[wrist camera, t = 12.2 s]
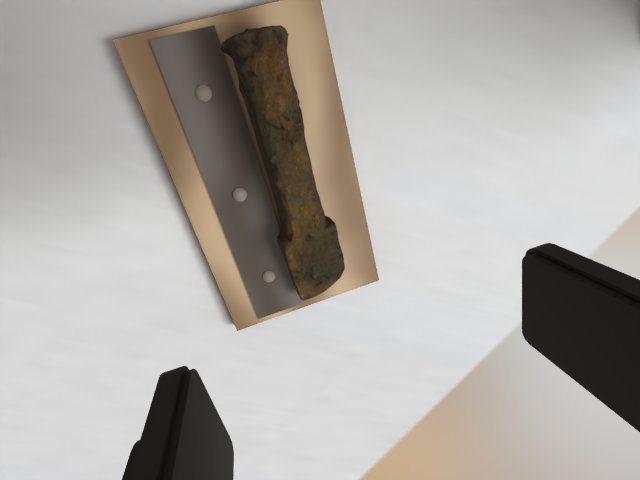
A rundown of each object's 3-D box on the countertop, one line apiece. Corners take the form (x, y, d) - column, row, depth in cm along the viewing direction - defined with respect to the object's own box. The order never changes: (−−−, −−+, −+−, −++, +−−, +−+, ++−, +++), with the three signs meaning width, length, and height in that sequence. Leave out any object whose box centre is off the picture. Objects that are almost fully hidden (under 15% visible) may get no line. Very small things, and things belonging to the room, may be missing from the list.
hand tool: (219, 27, 18) (303, 12, 19) (217, 43, 21) (286, 30, 22) (304, 320, 25) (361, 298, 26) (291, 295, 29) (342, 277, 30)
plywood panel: (314, -4, 23) (319, -10, 22) (374, 275, 31) (380, 281, 30) (117, 43, 21) (111, 38, 20) (237, 324, 30) (237, 332, 29)
